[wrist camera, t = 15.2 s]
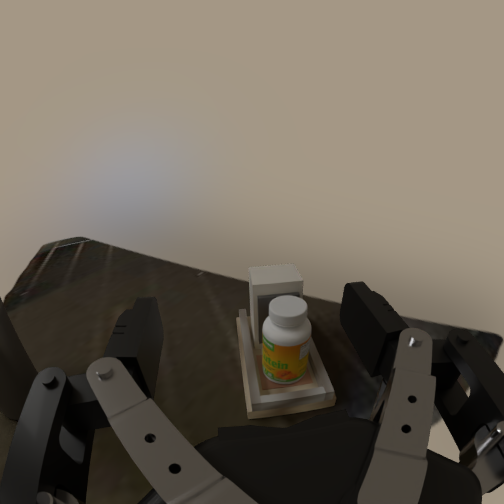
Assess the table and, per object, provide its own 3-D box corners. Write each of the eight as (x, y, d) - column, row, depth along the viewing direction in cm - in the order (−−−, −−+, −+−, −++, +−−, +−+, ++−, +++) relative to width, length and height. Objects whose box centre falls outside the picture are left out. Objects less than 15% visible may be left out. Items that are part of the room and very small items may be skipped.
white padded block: (255, 352, 37) (253, 287, 33) (251, 328, 41) (248, 267, 37) (299, 347, 37) (304, 282, 33) (291, 324, 42) (293, 263, 38)
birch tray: (248, 419, 28) (246, 404, 27) (236, 325, 45) (235, 309, 43) (334, 405, 29) (338, 390, 28) (299, 318, 45) (300, 303, 44)
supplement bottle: (253, 373, 33) (251, 309, 29) (277, 349, 37) (279, 286, 33) (292, 392, 30) (298, 327, 26) (313, 364, 34) (322, 300, 30)
